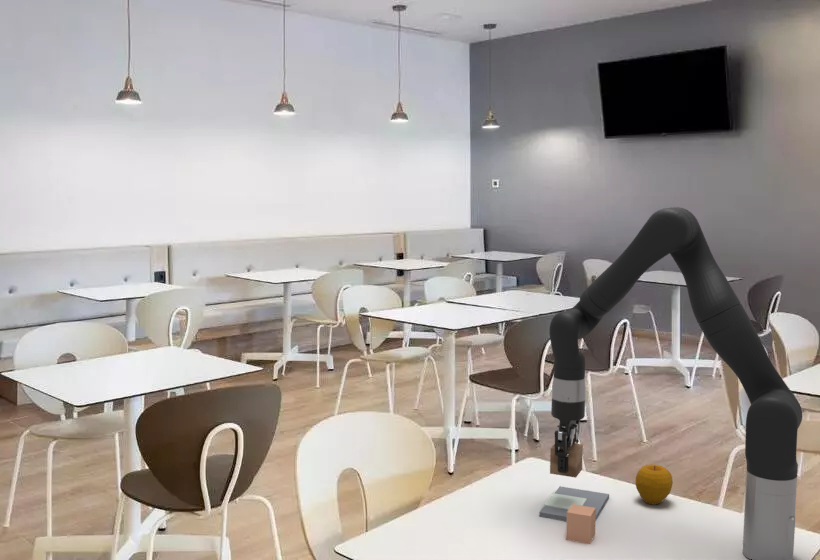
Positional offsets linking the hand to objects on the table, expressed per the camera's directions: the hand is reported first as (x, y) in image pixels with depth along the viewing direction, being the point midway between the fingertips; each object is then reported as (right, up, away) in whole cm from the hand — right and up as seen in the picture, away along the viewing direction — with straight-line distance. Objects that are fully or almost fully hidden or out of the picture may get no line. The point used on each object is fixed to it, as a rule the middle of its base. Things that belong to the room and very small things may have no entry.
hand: (566, 467), depth 187 cm
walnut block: (0, -1, 0) cm, 1 cm away
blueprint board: (+2, -9, +1) cm, 10 cm away
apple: (+21, -9, +4) cm, 24 cm away
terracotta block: (0, -11, -15) cm, 19 cm away
